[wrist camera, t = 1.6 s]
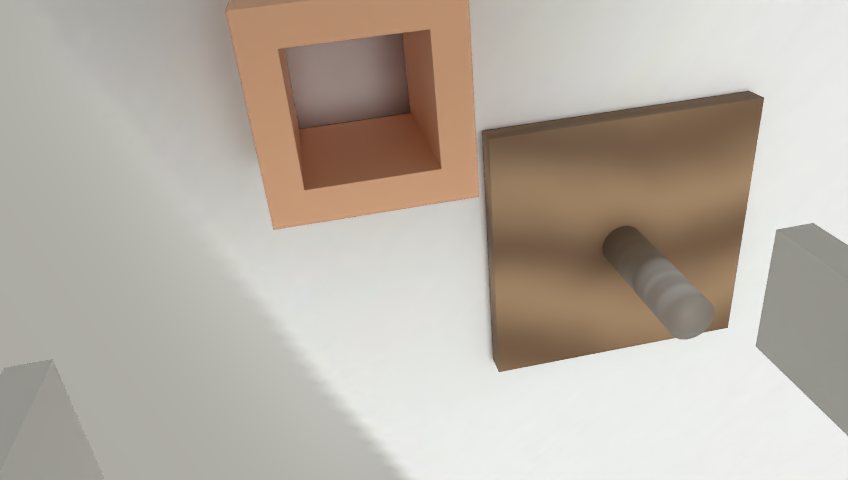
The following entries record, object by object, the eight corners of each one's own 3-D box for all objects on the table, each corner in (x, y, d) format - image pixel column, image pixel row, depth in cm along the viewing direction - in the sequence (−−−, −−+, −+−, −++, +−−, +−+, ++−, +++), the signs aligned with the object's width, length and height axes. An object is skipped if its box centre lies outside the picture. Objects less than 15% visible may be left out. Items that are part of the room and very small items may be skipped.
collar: (237, -19, 28) (225, 10, 22) (428, -42, 29) (467, -19, 23) (274, 162, 32) (273, 229, 26) (441, 137, 33) (478, 196, 27)
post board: (482, 130, 33) (538, 201, 26) (749, 91, 35) (870, 146, 28) (493, 359, 40) (539, 464, 33) (716, 316, 42) (806, 407, 35)
